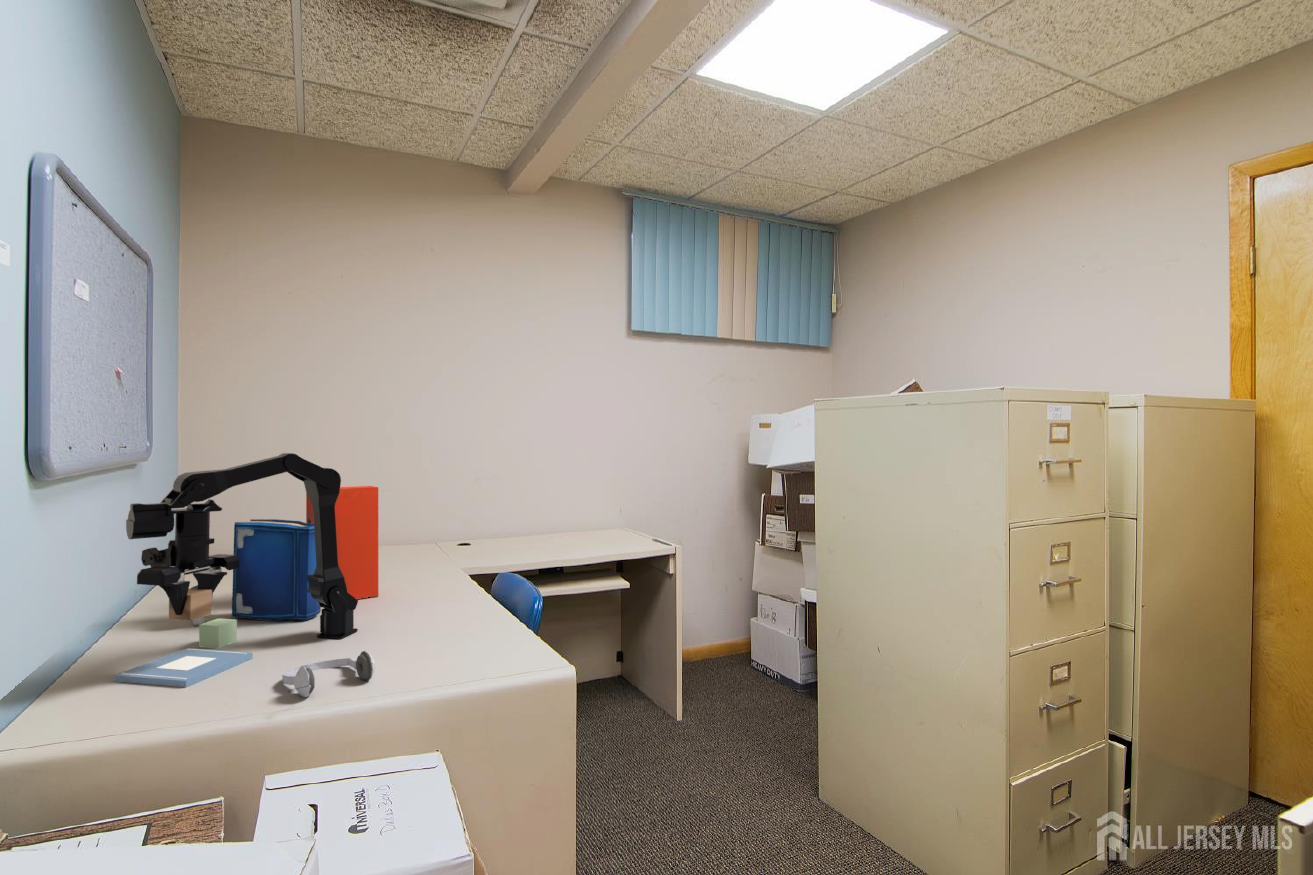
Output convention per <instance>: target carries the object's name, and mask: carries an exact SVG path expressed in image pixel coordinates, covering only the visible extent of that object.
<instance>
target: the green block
mask: <svg viewBox="0 0 1313 875" xmlns="http://www.w3.org/2000/svg"><path fill="white" fill-rule="evenodd" d="M198 628H199V629H198V641H199V642H198V643H199V644H198V647H200V648H212V649H219V648H220V649H221V648H222V647H225V646H228V645H230V644H232V643H236V642H237V641H238V620H237V619H234V618H232V619H230V618H215V619H212V620H209V621H206V622H204V623H203V624H200V625H199V626H198Z"/></svg>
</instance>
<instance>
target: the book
mask: <svg viewBox="0 0 1313 875" xmlns="http://www.w3.org/2000/svg"><path fill="white" fill-rule="evenodd" d="M233 525H234V526H233V527H234V528H233V555H236V556H237V557H238V558H239V559H240V563H239V568H237V569H233V570H232V571H233V572H232V595H231V596H232V597H231V598H232V599H231V617H232V618H239V619H246V620H248V619H249V620H254V621H255V620H256V621H273V622H275V621H277V622H284V621H290V620H299V621H306V620H310V619H314V618H315V617H316V616H317V615H319V614H320V613H322V607H320V605H319V603H318V601H316V600H315V599H313V598H312V596H311V593H309V592H307V591H308V588H309V583H308V579H307V575H313V574H314V572H315V569H316V549H315V533H314V524H307V523H306V522H303V521H300V520H290V519H289V520H288V519H276V518H275V519H274V518H273V519H272V518H271V519H270V518H269V519H264V518H263V519H260V518H259V519H255V518H253V519H250V520H242V521H240V522H239V521H237V522H236V521H235V522H234V524H233Z"/></svg>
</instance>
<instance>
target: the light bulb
mask: <svg viewBox="0 0 1313 875" xmlns="http://www.w3.org/2000/svg"><path fill="white" fill-rule="evenodd" d="M191 588H193V589H198V584H197V585H194V586H192V587H191ZM191 588H190V587H189V589H191ZM213 595H214V593H213V594H212V598H213V597H214V596H213ZM205 621H206V616H204V617H200V618H197V619H194V620H192V624H193V625H194V626H196V627H199V625H200V624H203V623H206V622H205Z"/></svg>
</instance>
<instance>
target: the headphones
mask: <svg viewBox="0 0 1313 875" xmlns="http://www.w3.org/2000/svg"><path fill="white" fill-rule="evenodd" d="M346 666H349V667H351V668H353V669H354V670H356V673H357V675H358V677H359V678H360V679H363V680H364V681H370V680H372V677H373V675H374V673H375V669H376V661H375V659H374V657H373V656H372V655H371V654H370V653H369V652H368V651H367V650H363V651H361V653H360V654H359V655H358V656H357V657H356V658H351V657H348V658H347V657H345V658H337V659H330V660H323V661H319V662H313V663H310V664H305V665H301V666H299V667H296V668H293V669H290V670H288V671H286V672H284V673H283V674H281V677H282V683H284V684H285V685H289V686H294V688H292V689H289V690H288V691H287V693H295V692H297V693H298V694H299V695H300V696H301V697H302V698H309V697H310V695H311V694H312V693H313V691H314V690H315V684H316V682H315V680H316V678H315V675H314V673H313V672H314V671H319V670H322V669H334V668H340V667H346ZM295 690H296V691H295Z"/></svg>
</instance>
